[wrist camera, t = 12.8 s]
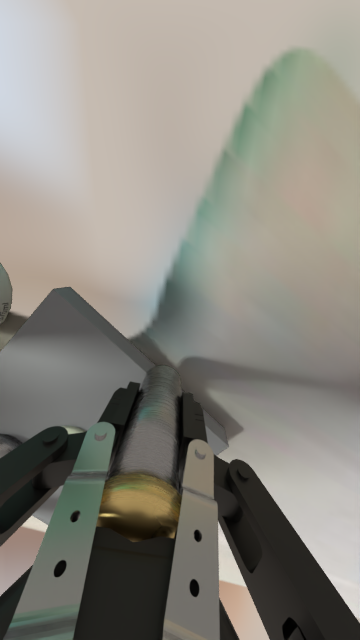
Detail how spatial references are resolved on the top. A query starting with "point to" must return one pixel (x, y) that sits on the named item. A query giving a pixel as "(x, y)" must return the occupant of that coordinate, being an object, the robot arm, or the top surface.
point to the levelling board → (69, 374)
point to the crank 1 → (8, 444)
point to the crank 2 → (147, 463)
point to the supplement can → (4, 294)
